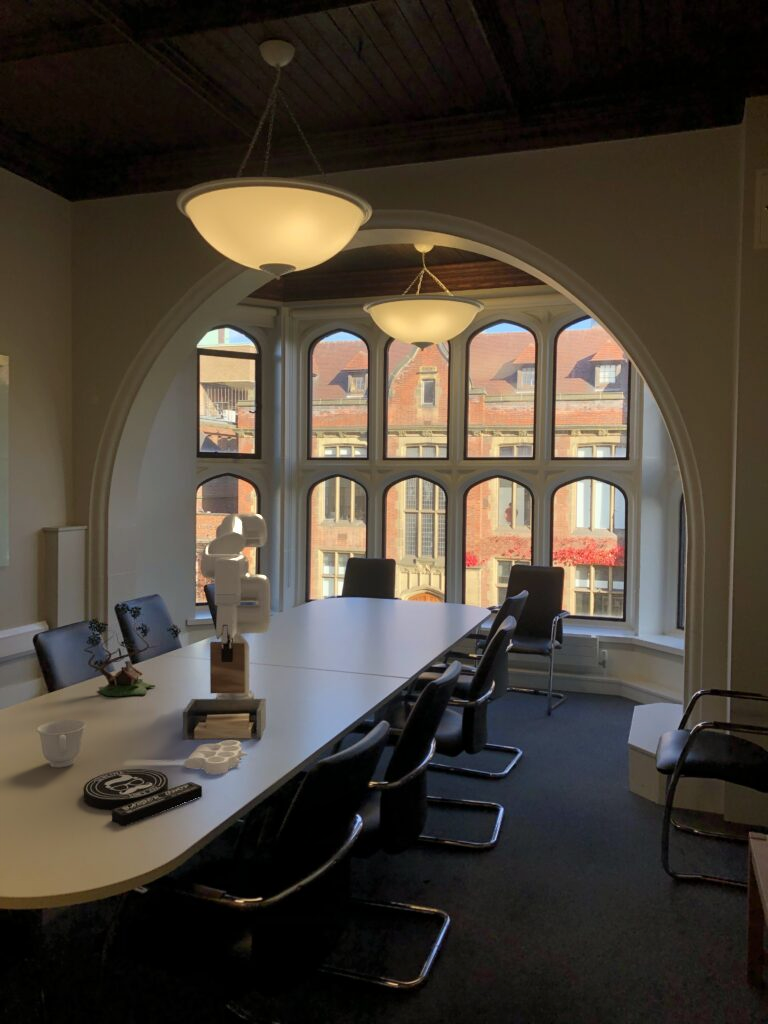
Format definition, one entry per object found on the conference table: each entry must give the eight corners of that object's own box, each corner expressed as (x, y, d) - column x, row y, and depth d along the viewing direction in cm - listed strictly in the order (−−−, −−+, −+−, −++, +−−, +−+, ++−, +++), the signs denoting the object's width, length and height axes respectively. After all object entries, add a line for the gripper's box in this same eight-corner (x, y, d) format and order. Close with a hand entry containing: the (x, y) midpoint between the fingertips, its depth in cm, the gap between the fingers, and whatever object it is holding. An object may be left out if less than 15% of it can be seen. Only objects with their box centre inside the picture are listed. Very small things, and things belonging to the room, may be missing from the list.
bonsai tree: (68, 703, 268) (67, 608, 267) (94, 684, 293) (93, 597, 291) (174, 704, 269) (174, 609, 267) (191, 685, 293) (191, 598, 292)
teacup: (37, 778, 203) (36, 739, 202) (36, 759, 216) (36, 722, 216) (88, 772, 207) (88, 733, 207) (84, 753, 221) (84, 717, 221)
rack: (192, 729, 242) (191, 699, 242) (265, 728, 243) (265, 698, 243) (183, 743, 229) (182, 711, 229) (261, 743, 230) (261, 711, 230)
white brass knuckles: (201, 751, 225) (252, 752, 224) (180, 775, 207) (236, 776, 206) (200, 739, 225) (252, 740, 224) (179, 762, 207) (236, 763, 206)
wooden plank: (211, 691, 241) (211, 641, 240) (245, 691, 242) (245, 641, 241) (210, 693, 239) (210, 643, 238) (244, 693, 240) (244, 643, 239)
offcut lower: (198, 730, 238) (198, 722, 237) (253, 730, 238) (253, 721, 238) (194, 738, 231) (194, 729, 230) (250, 738, 231) (250, 729, 231)
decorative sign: (203, 798, 192) (141, 773, 208) (203, 786, 192) (141, 762, 208) (123, 828, 176) (63, 798, 191) (122, 815, 176) (62, 786, 191)
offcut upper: (207, 723, 236) (207, 715, 236) (249, 721, 238) (249, 713, 238) (205, 730, 230) (205, 721, 230) (248, 728, 232) (248, 720, 232)
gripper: (219, 594, 247) (219, 654, 248) (210, 603, 231) (210, 667, 232) (243, 594, 247) (244, 654, 248) (236, 603, 231) (236, 667, 232)
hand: (227, 660), depth 240 cm, fingers closed on wooden plank, 2 cm apart
